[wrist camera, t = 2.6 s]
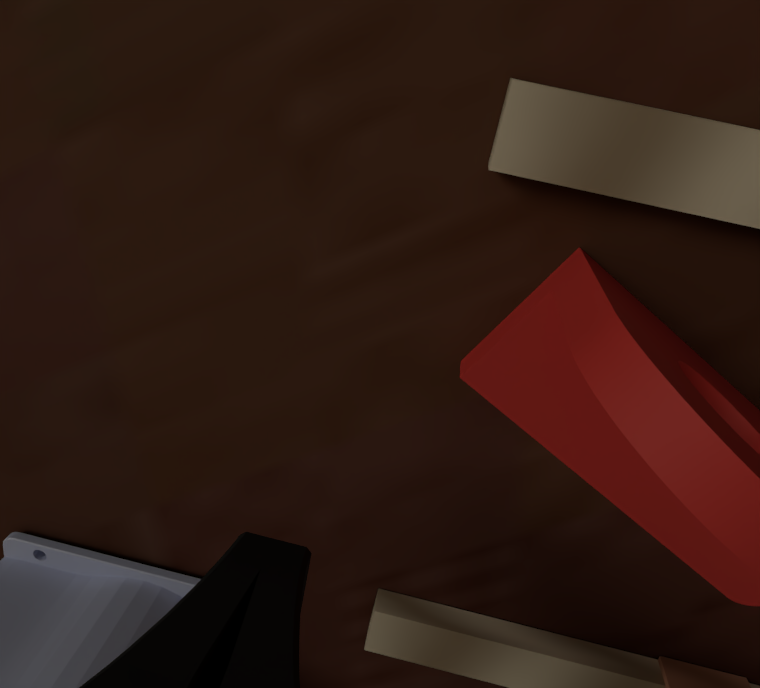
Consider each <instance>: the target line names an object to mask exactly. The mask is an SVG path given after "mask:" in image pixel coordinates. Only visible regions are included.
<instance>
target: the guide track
mask: <svg viewBox="0 0 760 688" xmlns="http://www.w3.org/2000/svg"><path fill="white" fill-rule="evenodd" d="M488 166H489V170H491V171H496V172H501V173H505V174H510V175H514V176H519V177H524V178H528V179H533V180H537V181H542V182H547V183H551V184H556V185H560V186H565V187H570V188H574V189H579V190H583V191H588V192H593V193H597V194H602V195H606V196H611V197H616V198H620V199H625V200H629V201H634V202H639V203H643V204H648V205H652V206H657V207H662V208H666V209H671V210H675V211H680V212H684V213H689V214H694V215H698V216H703V217H707V218H712V219H717V220H721V221H726V222H730V223H735V224H740V225H744V226H749V227H753V228H758V229H760V130H757V129H752V128H748V127H743V126H738V125H733V124H729V123H724V122H719V121H714V120H709V119H705V118H700V117H695V116H690V115H686V114H681V113H676V112H671V111H667V110H662V109H657V108H652V107H647V106H643V105H638V104H633V103H628V102H624V101H619V100H614V99H609V98H604V97H600V96H595V95H590V94H585V93H581V92H576V91H571V90H566V89H561V88H557V87H552V86H547V85H542V84H538V83H533V82H528V81H523V80H518V79H514V78H510V81H509V85H508V89H507V93H506V97H505V101H504V105H503V108H502V112H501V116H500V120H499V124H498V128H497V132H496V136H495V139H494V143H493V147H492V151H491V155H490V159H489V163H488ZM364 650H367V651H371V652H375V653H378V654H382V655H386V656H390V657H394V658H398V659H401V660H405V661H409V662H413V663H417V664H421V665H424V666H428V667H432V668H436V669H440V670H444V671H447V672H451V673H455V674H459V675H463V676H467V677H470V678H474V679H478V680H482V681H486V682H490V683H493V684H497V685H501V686H505V687H509V688H760V686H759V685H755V684H751V683H749V682H748V680H747V678H745V677H741V676H737V675H733V674H729V673H725V672H721V671H718V670H714V669H710V668H706V667H702V666H698V665H694V664H690V663H686V662H682V661H678V660H674V659H670V658H667V657H663V656H659V658H658V660H657V659H653V658H649V657H646V656H642V655H638V654H634V653H630V652H626V651H622V650H618V649H614V648H610V647H606V646H602V645H599V644H595V643H591V642H587V641H583V640H579V639H575V638H571V637H567V636H563V635H559V634H555V633H552V632H548V631H544V630H540V629H536V628H532V627H528V626H524V625H520V624H516V623H512V622H508V621H504V620H501V619H497V618H493V617H489V616H485V615H481V614H477V613H473V612H469V611H465V610H461V609H457V608H454V607H450V606H446V605H442V604H438V603H434V602H430V601H426V600H422V599H418V598H414V597H410V596H407V595H403V594H399V593H395V592H391V591H387V590H383V589H379V588H378V592H377V596H376V600H375V604H374V608H373V611H372V615H371V619H370V623H369V627H368V632H367V637H366V643H365V648H364Z"/></svg>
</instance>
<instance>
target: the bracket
mask: <svg viewBox="0 0 760 688" xmlns="http://www.w3.org/2000/svg"><path fill="white" fill-rule="evenodd" d="M460 378H461V379H462V380H463V381H465V382H466V383H467V384H468V385H469V386H471V387H472V388H473V389H474V390H476V391H477V392H478V393H479V394H480V395H482V396H483V397H484V398H485V399H487V400H488V401H489V402H490V403H491V404H493V405H494V406H495V407H496V408H497V409H499V410H500V411H501V412H502V413H504V414H505V415H506V416H507V417H508V418H510V419H511V420H512V421H513V422H515V423H516V424H517V425H518V426H519V427H521V428H522V429H523V430H524V431H525V432H527V433H528V434H529V435H530V436H532V437H533V438H534V439H535V440H536V441H538V442H539V443H540V444H541V445H542V446H544V447H545V448H546V449H547V450H549V451H550V452H551V453H552V454H553V455H555V456H556V457H557V458H558V459H560V460H561V461H562V462H563V463H564V464H566V465H567V466H568V467H569V468H570V469H572V470H573V471H574V472H575V473H577V474H578V475H579V476H580V477H581V478H583V479H584V480H585V481H586V482H587V483H589V484H590V485H591V486H592V487H594V488H595V489H596V490H597V491H598V492H600V493H601V494H602V495H603V496H605V497H606V498H607V499H608V500H609V501H611V502H612V503H613V504H614V505H615V506H617V507H618V508H619V509H620V510H622V511H623V512H624V513H625V514H626V515H628V516H629V517H630V518H631V519H633V520H634V521H635V522H636V523H637V524H639V525H640V526H641V527H642V528H643V529H645V530H646V531H647V532H648V533H650V534H651V535H652V536H653V537H654V538H656V539H657V540H658V541H659V542H660V543H662V544H663V545H664V546H665V547H667V548H668V549H669V550H670V551H671V552H673V553H674V554H675V555H676V556H678V557H679V558H680V559H681V560H682V561H684V562H685V563H686V564H687V565H688V566H690V567H691V568H692V569H693V570H695V571H696V572H697V573H698V574H699V575H701V576H702V577H703V578H704V579H705V580H707V581H708V582H709V583H710V584H712V585H713V586H714V587H715V588H716V589H718V590H719V591H720V592H721V593H723V594H724V595H725V596H726V597H727V598H729V599H730V600H732V601H734V602H736V603H739V604H743V605H748V606H760V410H758V409H757V408H756V407H755V406H754V405H753V404H752V403H751V402H750V401H749V400H747V399H746V398H745V397H744V396H743V395H742V394H741V393H740V392H739V391H738V390H736V389H735V388H734V387H733V386H732V385H731V384H730V383H729V382H728V381H727V380H725V379H724V378H723V377H722V376H721V375H720V374H719V373H718V372H717V371H715V370H714V369H713V368H712V367H711V366H710V365H709V364H708V363H707V362H706V361H704V360H703V359H702V358H701V357H700V356H699V355H698V354H697V353H696V352H695V351H693V350H692V349H691V348H690V347H689V346H688V345H687V344H686V343H685V342H684V341H682V340H681V339H680V338H679V337H678V336H677V335H676V334H675V333H674V332H673V331H671V330H670V329H669V328H668V327H667V326H666V325H665V324H664V323H663V322H662V321H660V320H659V319H658V318H657V317H656V316H655V315H654V314H653V313H652V312H650V311H649V310H648V309H647V308H646V307H645V306H644V305H643V304H642V303H641V302H639V301H638V300H637V299H636V298H635V297H634V296H633V295H632V294H631V293H630V292H628V291H627V290H626V289H625V288H624V287H623V286H622V285H621V284H620V283H619V282H617V281H616V280H615V279H614V278H613V277H612V276H611V275H610V274H609V273H608V272H606V271H605V270H604V269H603V268H602V267H601V266H600V265H599V264H598V263H596V262H595V261H594V260H593V259H592V258H591V257H590V256H589V255H588V254H587V253H585V252H584V251H583V250H582V249H581V248H580V247H579V248H578V249H577V250H576V251H575V252H574V253H573V254H572V255H571V256H570V257H569V258H568V259H567V260H566V261H565V262H564V263H562V264H561V265H560V266H559V267H558V268H557V269H556V270H555V271H554V272H553V273H552V274H551V275H550V276H549V277H548V278H547V279H546V280H545V281H544V282H543V283H542V284H541V285H540V286H539V287H538V288H536V289H535V290H534V291H533V292H532V293H531V294H530V295H529V296H528V297H527V298H526V299H525V300H524V301H523V302H522V303H521V304H520V305H519V306H518V307H517V308H516V309H515V310H514V311H513V312H512V313H510V314H509V315H508V316H507V317H506V318H505V319H504V320H503V321H502V322H501V323H500V324H499V325H498V326H497V327H496V328H495V329H494V330H493V331H492V332H491V333H490V334H489V335H488V336H487V337H486V338H484V339H483V340H482V341H481V342H480V343H479V344H478V345H477V346H476V347H475V348H474V349H473V350H472V351H471V352H470V353H469V354H468V355H467V356H466V357H465V358H464V359H463V360H462V361H461V366H460Z"/></svg>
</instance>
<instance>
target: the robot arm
mask: <svg viewBox="0 0 760 688" xmlns="http://www.w3.org/2000/svg"><path fill="white" fill-rule="evenodd" d="M3 550H4V558H3V559H2V560H1V561H0V688H300V681H299V629H300V612H301V607H302V602H303V596H304V591H305V585H306V580H307V574H308V569H309V563H310V558H311V552H310V551H309V550H308V548H307V547H304V546H300V545H296V544H292V543H288V542H284V541H280V540H276V539H272V538H268V537H264V536H260V535H257V534H253V533H249V532H245V533H243V534H241V535H240V536H239V537H238V538H237V539H236V541H235V542H234V543H233V544H232V546H231V547H230V548H229V549H228V550H227V552H226V553H225V554H224V555H223V556H222V557H221V558H220V560H219V561H218V562H217V563H216V564H215V565H214V566H213V567H212V568H211V569H210V570H209V572H208V573H207V574H206V575H205V576H204V577H203V578H202V579H199V578H195V577H191V576H187V575H184V574H180V573H176V572H172V571H168V570H164V569H160V568H156V567H153V566H149V565H145V564H141V563H137V562H133V561H129V560H125V559H122V558H118V557H114V556H110V555H106V554H102V553H98V552H94V551H91V550H87V549H83V548H79V547H75V546H71V545H67V544H63V543H60V542H56V541H52V540H48V539H44V538H40V537H36V536H33V535H29V534H25V533H21V532H13V533H11V534H10V535H9V536H8V537H7V538H6V539H5V540H4V541H3Z"/></svg>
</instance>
